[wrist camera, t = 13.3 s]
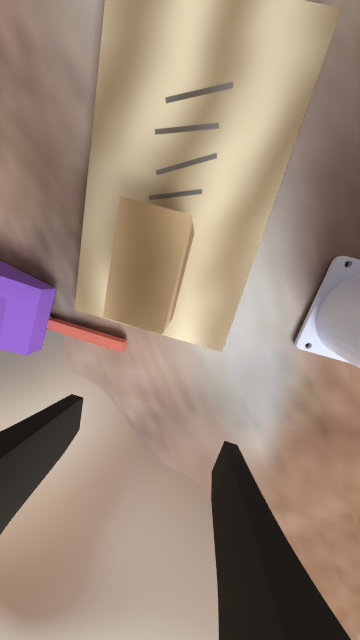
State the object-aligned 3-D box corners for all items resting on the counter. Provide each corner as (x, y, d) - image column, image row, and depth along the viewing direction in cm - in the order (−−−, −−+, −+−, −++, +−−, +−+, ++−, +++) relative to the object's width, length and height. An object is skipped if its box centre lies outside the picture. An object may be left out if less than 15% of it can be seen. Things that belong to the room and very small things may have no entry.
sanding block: (194, 233, 14) (191, 214, 10) (172, 317, 16) (162, 334, 11) (144, 220, 14) (119, 196, 10) (129, 305, 16) (102, 317, 12)
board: (328, 35, 11) (342, 7, 10) (220, 346, 17) (221, 352, 16) (117, -8, 12) (108, -39, 11) (82, 307, 18) (74, 310, 17)
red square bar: (127, 340, 18) (123, 343, 17) (125, 349, 18) (121, 352, 17) (44, 314, 19) (37, 316, 18) (44, 323, 19) (36, 325, 18)
